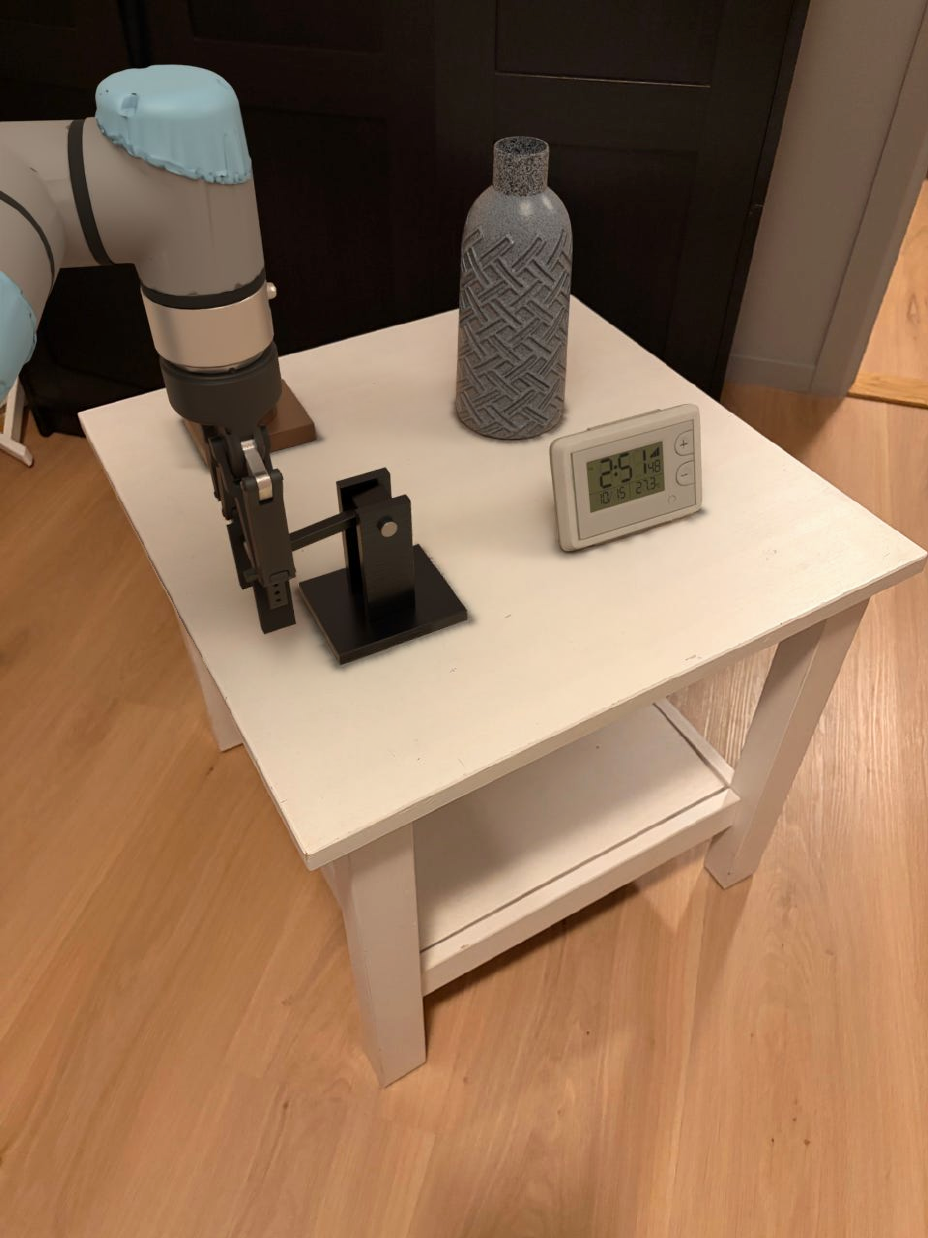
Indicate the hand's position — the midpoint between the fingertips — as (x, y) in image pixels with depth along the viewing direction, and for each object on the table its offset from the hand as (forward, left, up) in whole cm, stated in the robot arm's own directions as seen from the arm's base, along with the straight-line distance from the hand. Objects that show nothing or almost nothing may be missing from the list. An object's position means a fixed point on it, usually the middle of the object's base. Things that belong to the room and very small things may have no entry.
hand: (267, 603), depth 76 cm
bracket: (+8, +6, -5) cm, 11 cm away
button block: (-12, +31, -5) cm, 33 cm away
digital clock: (+29, +21, -5) cm, 36 cm away
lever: (+5, +3, +5) cm, 7 cm away
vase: (+16, +39, -5) cm, 42 cm away
